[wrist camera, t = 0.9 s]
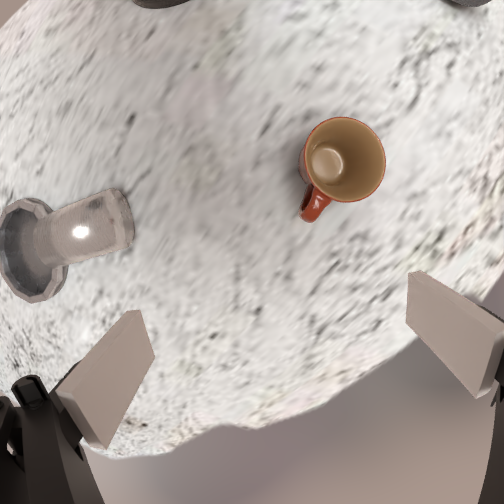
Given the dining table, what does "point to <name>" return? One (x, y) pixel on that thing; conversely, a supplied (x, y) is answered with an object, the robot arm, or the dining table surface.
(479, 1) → the bowl
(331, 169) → the mug
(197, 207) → the dining table surface
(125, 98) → the dining table surface
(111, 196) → the grey saucepan
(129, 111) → the dining table surface
